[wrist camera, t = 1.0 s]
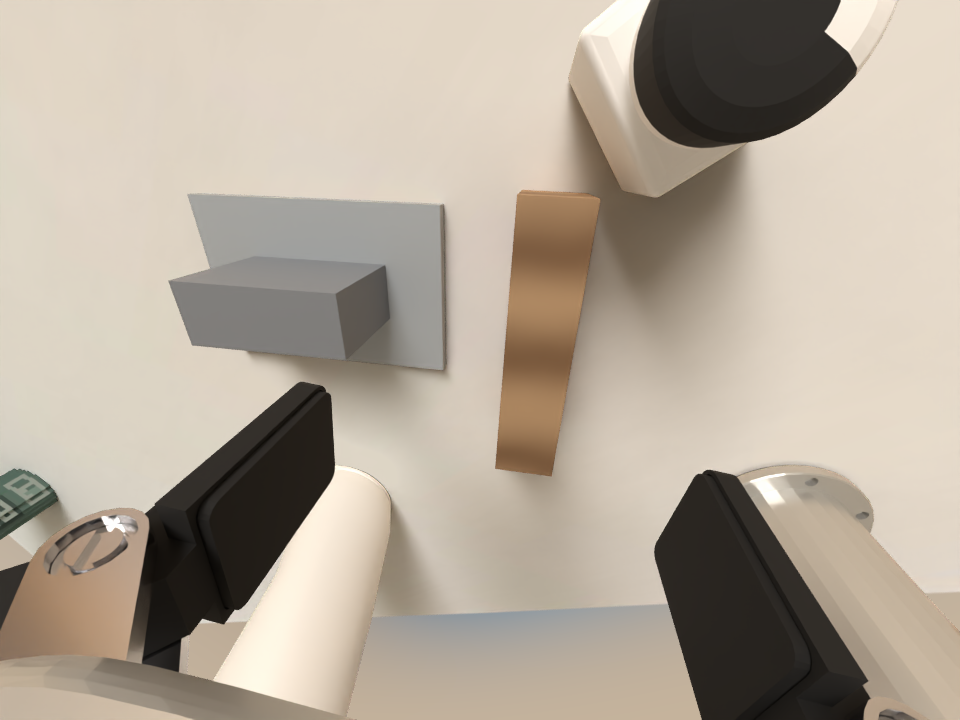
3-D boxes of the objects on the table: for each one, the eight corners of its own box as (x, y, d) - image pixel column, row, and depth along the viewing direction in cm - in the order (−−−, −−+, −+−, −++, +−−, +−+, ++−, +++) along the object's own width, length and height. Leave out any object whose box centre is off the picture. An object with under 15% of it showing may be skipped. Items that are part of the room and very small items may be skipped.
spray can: (374, 443, 35) (83, 911, 13) (437, 516, 38) (293, 987, 16) (294, 480, 39) (-30, 881, 17) (357, 543, 42) (156, 946, 20)
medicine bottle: (622, 194, 22) (695, 212, 12) (565, 76, 20) (591, -31, 10) (749, 113, 20) (990, 41, 9) (699, -33, 18) (939, -346, 7)
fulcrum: (446, 364, 30) (416, 424, 23) (243, 344, 32) (158, 393, 25) (443, 204, 24) (402, 216, 17) (199, 193, 26) (73, 200, 19)
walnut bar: (549, 424, 31) (551, 476, 26) (502, 419, 32) (495, 468, 26) (586, 193, 23) (600, 199, 17) (522, 189, 23) (517, 194, 18)
